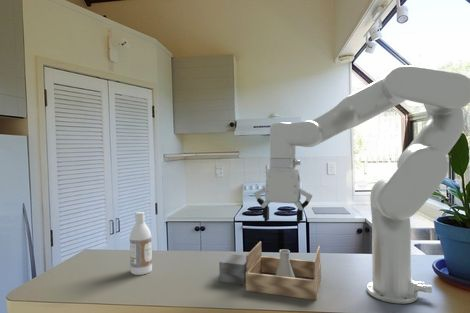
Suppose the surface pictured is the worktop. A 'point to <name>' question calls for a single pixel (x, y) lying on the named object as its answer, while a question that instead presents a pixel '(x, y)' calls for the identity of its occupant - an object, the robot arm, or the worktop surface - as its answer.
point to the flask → (284, 265)
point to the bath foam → (140, 247)
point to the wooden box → (281, 283)
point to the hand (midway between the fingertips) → (282, 221)
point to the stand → (233, 269)
